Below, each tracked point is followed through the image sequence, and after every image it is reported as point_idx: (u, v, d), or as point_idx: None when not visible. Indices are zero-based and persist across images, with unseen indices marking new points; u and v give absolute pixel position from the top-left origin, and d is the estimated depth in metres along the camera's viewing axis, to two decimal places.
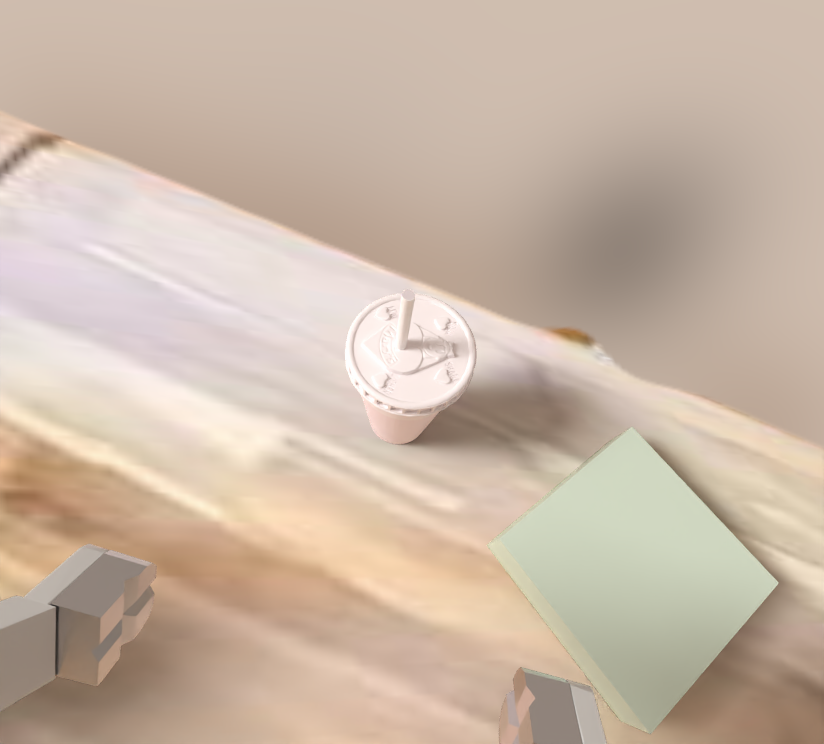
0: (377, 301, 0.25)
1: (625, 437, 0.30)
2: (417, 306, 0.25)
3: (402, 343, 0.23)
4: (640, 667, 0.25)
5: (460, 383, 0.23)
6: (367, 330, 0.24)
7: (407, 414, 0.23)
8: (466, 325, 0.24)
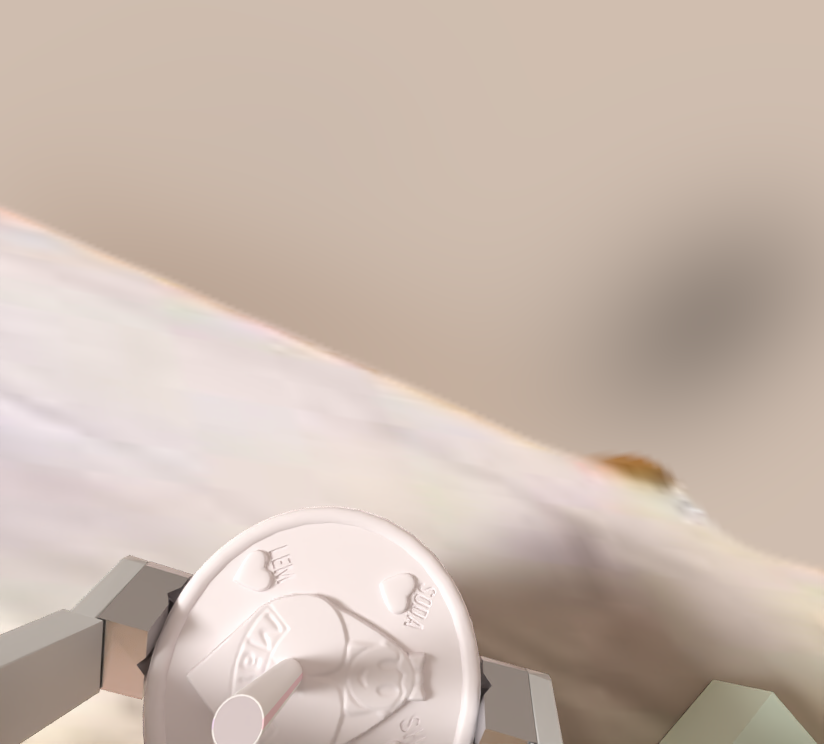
0: (244, 536, 0.10)
1: (763, 718, 0.16)
2: (341, 544, 0.10)
3: None
4: None
5: None
6: (210, 624, 0.10)
7: None
8: (456, 597, 0.10)
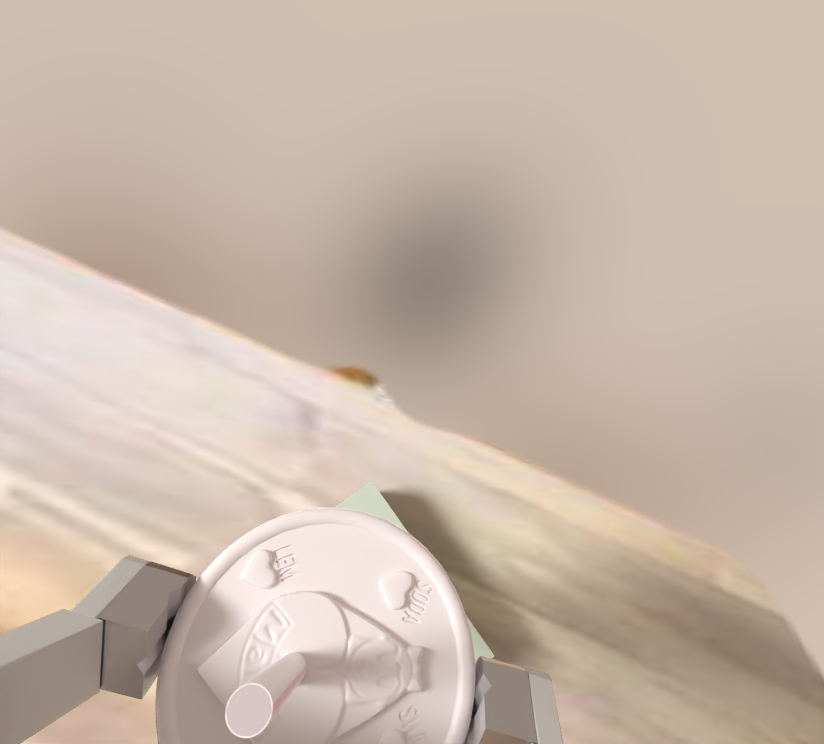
0: (250, 536, 0.11)
1: (361, 493, 0.28)
2: (342, 543, 0.11)
3: None
4: None
5: None
6: (217, 620, 0.10)
7: None
8: (452, 594, 0.11)
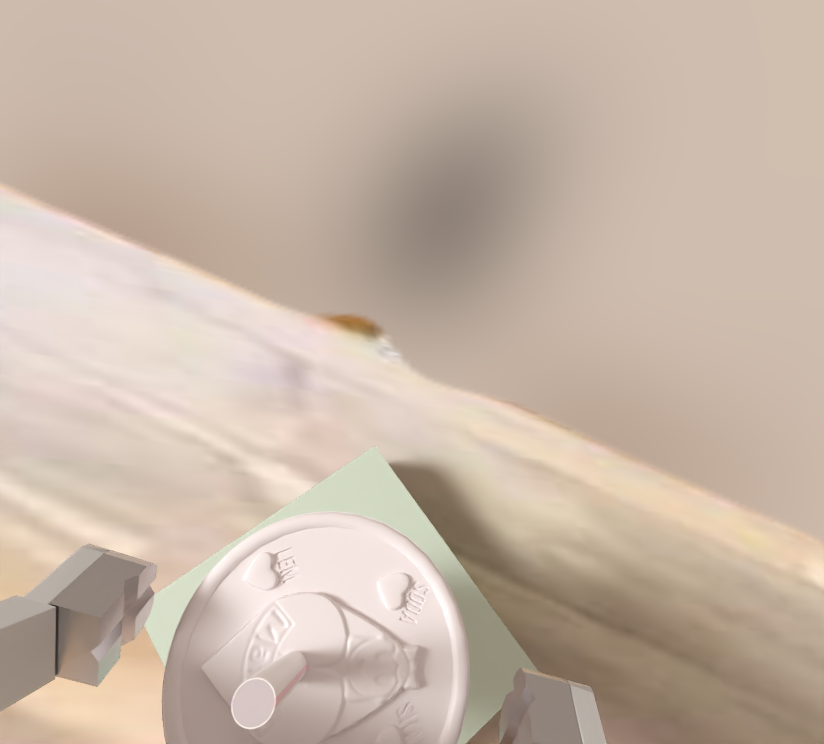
0: (252, 539, 0.11)
1: (362, 460, 0.22)
2: (341, 546, 0.11)
3: None
4: None
5: None
6: (221, 621, 0.10)
7: None
8: (448, 594, 0.11)
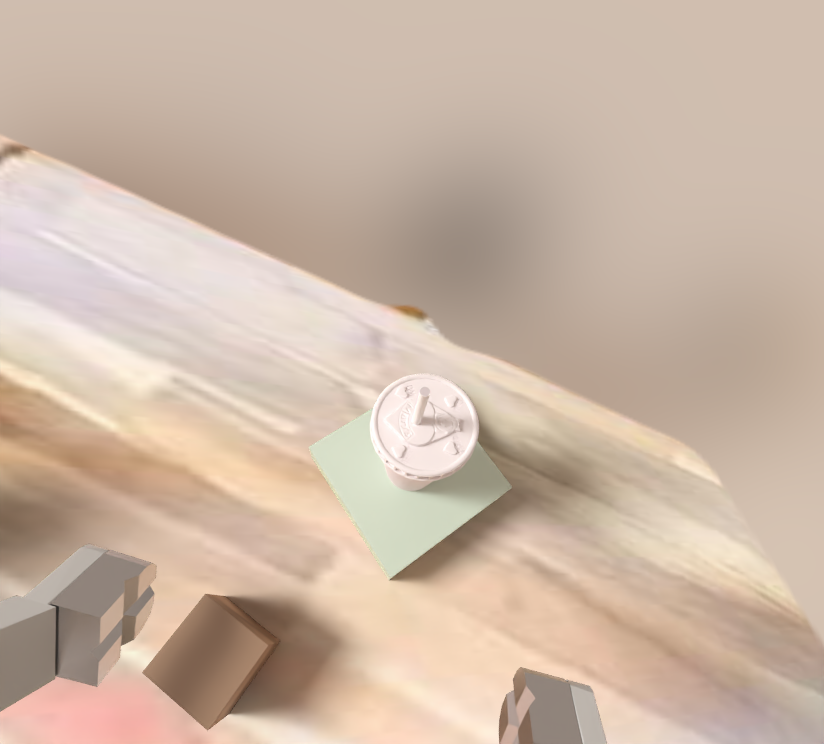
0: (397, 381, 0.30)
1: None
2: (430, 385, 0.30)
3: (418, 421, 0.28)
4: (394, 535, 0.35)
5: (465, 454, 0.28)
6: (389, 406, 0.29)
7: (420, 479, 0.28)
8: (471, 403, 0.29)
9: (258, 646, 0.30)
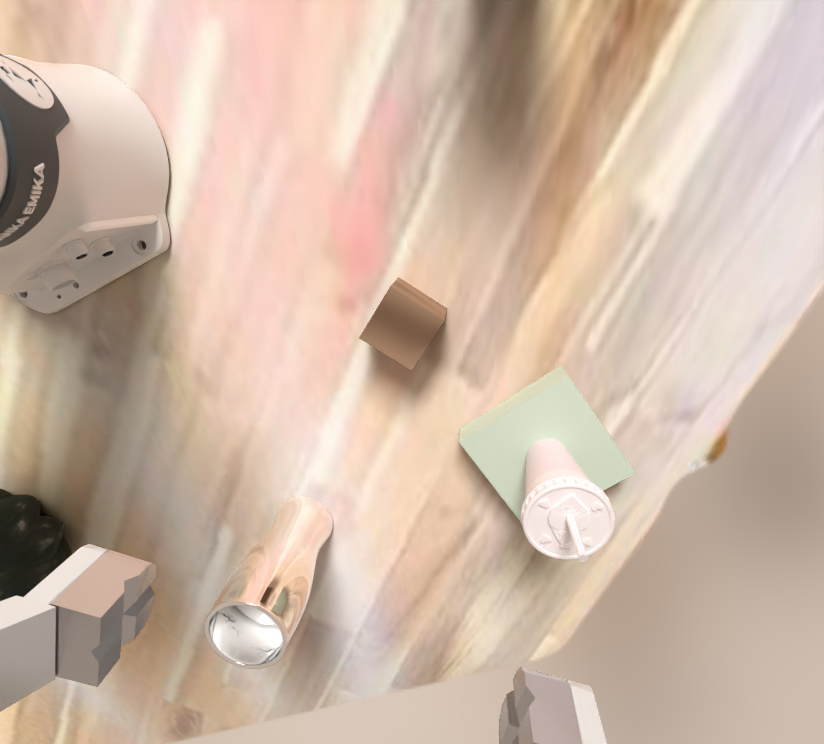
0: (607, 504, 0.34)
1: (627, 467, 0.43)
2: (602, 528, 0.35)
3: (567, 523, 0.34)
4: (490, 445, 0.44)
5: (539, 548, 0.36)
6: (583, 496, 0.34)
7: (522, 512, 0.36)
8: None
9: (410, 364, 0.41)
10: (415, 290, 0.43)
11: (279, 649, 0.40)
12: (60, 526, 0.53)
